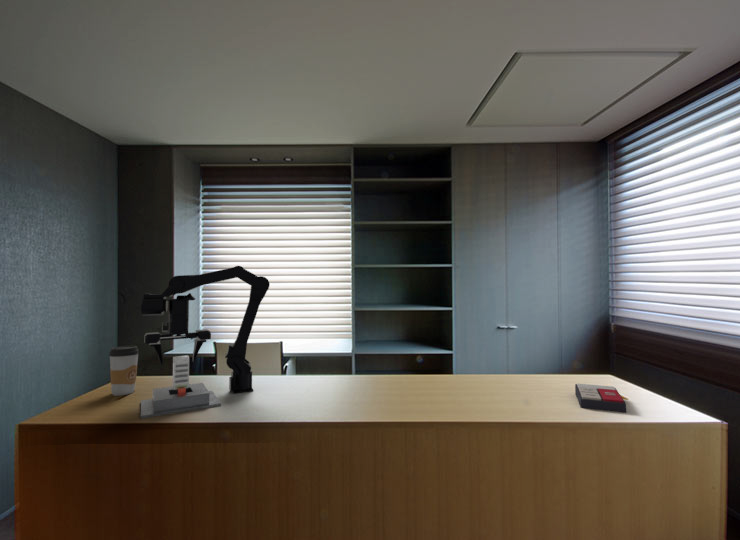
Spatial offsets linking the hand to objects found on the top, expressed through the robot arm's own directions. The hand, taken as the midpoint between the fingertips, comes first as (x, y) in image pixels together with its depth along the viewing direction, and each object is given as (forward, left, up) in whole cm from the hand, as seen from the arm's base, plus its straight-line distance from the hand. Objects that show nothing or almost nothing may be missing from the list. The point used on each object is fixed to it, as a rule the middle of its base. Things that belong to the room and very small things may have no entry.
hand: (177, 363), depth 119 cm
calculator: (-106, +76, -11) cm, 131 cm away
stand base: (0, +10, -10) cm, 14 cm away
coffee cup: (+15, -14, -11) cm, 23 cm away
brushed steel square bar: (0, +10, -6) cm, 11 cm away
